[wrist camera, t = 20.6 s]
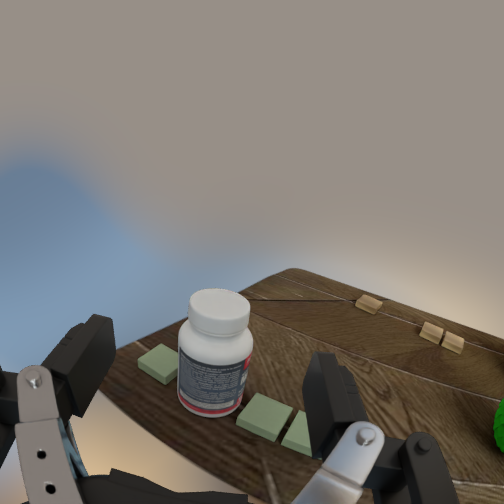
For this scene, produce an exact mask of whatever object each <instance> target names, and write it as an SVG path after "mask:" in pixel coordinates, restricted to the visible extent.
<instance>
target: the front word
mask: <svg viewBox="0 0 504 504" xmlns="http://www.w3.org/2000/svg"><path fill="white" fill-rule="evenodd" d="M138 367H139V368H140V369H142V370H143V371H145V372H146V373H147V374H149V375H151V376H152V377H154V378H155V379H157V380H158V381H160V382H161V383H163V384H165V385H166V384H168V383H169V382H170V381H171V380H172V379H174V378H175V377H176V376H177V375H178V353H177V352H175V351H173V350H172V349H170V348H168V347H166V346H165V345H163V344H160V345H158V346H157V347H155V348H154V349H152V350H151V351H149V352H148V353H146V354H145V355H143V356H142V357H140V358H139V359H138ZM292 410H293V408H292V407H290V406H287V405H285V404H282V403H280V402H278V401H275V400H273V399H270V398H268V397H266V396H264V395H261V394H259V393H256V394H255V395H254V396H253V398H252V399H251V400H250V402H249V403H248V404H247V405H246V407H245V408H244V409H243V411H242V412H241V413H240V414H239V416H238V417H237V421H236V425H238V426H240V427H242V428H244V429H246V430H249V431H251V432H253V433H255V434H257V435H259V436H262V437H264V438H266V439H268V440H271V441H273V442H275V440H276V439H277V437H278V435H279V434H280V432H281V430H282V429H283V427H284V425H285V423H286V422H287V420H288V418H289V417H290V415H291V412H292ZM281 445H283V446H285V447H288V448H290V449H293V450H295V451H298V452H300V453H303V454H306V455H308V456H311V457H312V453H311V446H310V439H309V432H308V426H307V419H306V413H305V412H302V411H300V410H299V411H298V413H297V415H296V417H295V419H294V421H293V422H292V424H291V426H290V428H289V430H288V431H287V433H286V435H285V437H284V439H283V441H282V443H281ZM321 459H322V458H320V460H321Z"/></svg>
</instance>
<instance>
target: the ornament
mask: <svg viewBox="0 0 504 504" xmlns="http://www.w3.org/2000/svg"><path fill="white" fill-rule="evenodd" d="M494 418H495V420H494V422H495V423H494V426H493V430H495V431H494V437H495V440H496V444H497V446H498V447H499V448H500V450H501V451H502V452H503V453H504V398H503V399H502V400H501V402H500V404H499V408H498V410H497V411H496V414H495V417H494Z"/></svg>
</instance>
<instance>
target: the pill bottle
mask: <svg viewBox="0 0 504 504" xmlns="http://www.w3.org/2000/svg"><path fill="white" fill-rule="evenodd" d="M249 314H250V304H249V302H248V301H247V299H245V298H244V297H243V296H241V295H240V294H238V293H236V292H233V291H230V290H226V289H219V288H209V289H203V290H199V291H197V292H195V293H194V294H193V295H192V296H191V297H190V301H189V308H188V320H187V321H185V322H184V323H183V325H182V326H181V328H180V330H179V335H178V380H177V394H178V398H179V400H180V402H181V403H182V405H183V406H184V407H185V408H186V409H188V410H189V411H191V412H192V413H194V414H197V415H200V416H204V417H221V416H225V415H228V414H230V413H232V412H233V411H234V410H236V409H237V408H238V406H239V405H240V403H241V400H242V396H243V392H244V387H245V382H246V377H247V373H248V368H249V363H250V359H251V354H252V349H253V338H252V335H251V332H250V331H249V329H248V328H247V325H248V322H249Z"/></svg>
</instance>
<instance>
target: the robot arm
mask: <svg viewBox="0 0 504 504" xmlns="http://www.w3.org/2000/svg"><path fill="white" fill-rule="evenodd" d="M115 354H116V346H115V338H114V329H113V321H112V319H111V318H109V317H105V316H101V315H97V314H93V315H92V316H91V317H90V318H89V319H88V321H87V322H86V323H85V324H84V323H80V324H78V325H76V326H75V327H73V328H71V329H70V330H69V331H68V333H67V334H66V335H65V337H64V338H62V340H61V341H60V342H59V344H57V346H56V347H55V348H54V349H53V351H52V352H51V353H50V354H49V355H48V357H47V358H46V359H45V360H44V361H43V363H42V364H41V365H31V366H28V367H26V368H24V369H23V370H21V371H20V373H12V372H6V371H2V368H1V366H0V468H1V466H2V464H3V462H4V460H5V458H6V456H7V454H8V452H9V450H10V448H11V446H12V444H13V442H14V440H15V438H16V442H17V448H18V455H19V460H20V466H21V471H22V475H23V480H24V484H25V488H26V492H27V496H28V500H29V501H27V502H24V503H22V504H253V503H249V502H248V495H246V494H233V493H224V492H215V491H209V492H185V493H178V492H174V491H171V490H169V489H167V488H164V487H162V486H160V485H158V484H156V483H154V482H152V481H150V480H148V479H146V478H144V477H140V476H136V475H133V474H130V473H126V472H123V471H120V470H117V469H113V468H112V469H111V471H110V474H109V475H91V476H89V475H88V473H87V471H86V469H85V467H84V465H83V462H82V460H81V457H80V454H79V451H78V448H77V445H76V441H75V438H74V435H73V432H72V428H71V424H70V421H69V419H70V417H71V416H72V414H73V415H75V416H78V417H81V418H82V417H83V415H84V413H85V411H86V410H87V408H88V406H89V404H90V402H91V401H92V398H93V397H94V395H95V393H96V391H97V390H98V388H99V386H100V384H101V382H102V381H103V379H104V377H105V375H106V374H107V372H108V370H109V368H110V367H111V365H112V363H113V361H114V358H115ZM302 393H303V400H304V406H305V413H306V419H307V426H308V432H309V439H310V446H311V453H312V459H320V458H322V461H323V465H322V466H321V467H320V468H319V470H318V471H317V472H316V473H315V475H314V476H313V477H312V479H311V480H310V481H309V482H308V484H307V485H306V486H305V487H304V489H303V490H302V491H301V492H300V493H299V495H298V496H297V497H296V498H295V499H294V500H293V502H292V503H291V504H356V503H357V501H358V499H359V498H360V496H361V494H362V492H363V490H364V488H370V489H372V493H373V498H374V504H460V503H459V500H458V497H457V494H456V491H455V488H454V485H453V482H452V479H451V476H450V474H449V471H448V468H447V465H446V463H445V460H444V458H443V455H442V452H441V450H440V447H439V445H438V443H437V441H436V440H435V438H434V437H432V436H431V435H429V434H427V433H424V432H415V433H412V434H411V435H410V436H409V437H408V438H407V439H406V440H402V439H396V438H390V437H386V436H384V434H383V432H382V431H381V429H380V428H379V427H377V426H376V425H374V424H372V423H370V422H369V420H368V417H367V414H366V411H365V408H364V405H363V402H362V400H361V397H360V394H359V391H358V388H357V386H356V383H355V380H354V377H353V375H352V373H351V372H350V371H349V370H348V369H347V368H346V367H345V366H338V363H337V360H336V357H335V354H334V353H330V352H317V351H315V352H314V353H313V355H312V358H311V361H310V364H309V367H308V370H307V372H306V375H305V378H304V381H303V388H302Z"/></svg>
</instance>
